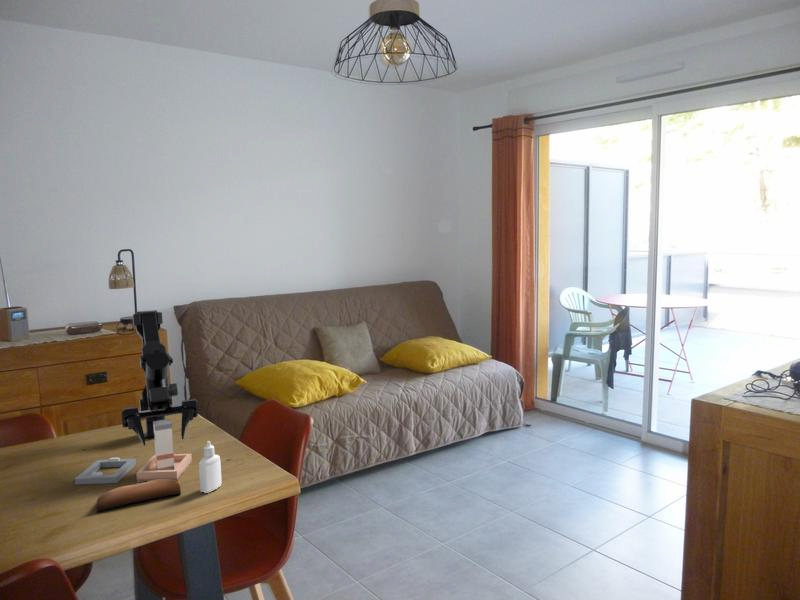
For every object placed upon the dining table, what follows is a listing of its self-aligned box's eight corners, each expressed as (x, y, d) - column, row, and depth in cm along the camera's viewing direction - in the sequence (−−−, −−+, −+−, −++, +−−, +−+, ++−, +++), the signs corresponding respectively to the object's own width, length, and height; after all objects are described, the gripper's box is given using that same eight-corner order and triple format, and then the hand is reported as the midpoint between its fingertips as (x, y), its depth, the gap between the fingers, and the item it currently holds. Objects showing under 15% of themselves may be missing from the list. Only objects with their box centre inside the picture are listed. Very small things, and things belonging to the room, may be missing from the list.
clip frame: (97, 465, 158) (97, 457, 158) (136, 463, 159) (135, 455, 159) (75, 484, 146) (74, 475, 146) (116, 482, 147) (116, 474, 146)
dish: (154, 463, 159) (153, 454, 159) (191, 462, 159) (191, 453, 159) (137, 481, 147) (136, 472, 147) (177, 480, 147) (176, 471, 147)
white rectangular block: (156, 467, 154) (152, 421, 153) (172, 464, 156) (169, 418, 155) (157, 473, 150) (154, 426, 149) (174, 470, 152) (171, 423, 151)
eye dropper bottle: (225, 488, 142) (223, 441, 141) (202, 495, 139) (199, 446, 137) (219, 483, 145) (216, 436, 144) (196, 489, 142) (193, 441, 141)
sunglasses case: (176, 482, 146) (176, 464, 143) (180, 505, 141) (181, 488, 138) (95, 498, 138) (93, 480, 134) (97, 524, 133) (95, 506, 129)
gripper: (119, 378, 150) (122, 432, 141) (195, 369, 158) (203, 420, 149) (120, 400, 158) (124, 453, 149) (193, 391, 166) (201, 441, 157)
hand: (163, 441), depth 151 cm, fingers open, 9 cm apart
